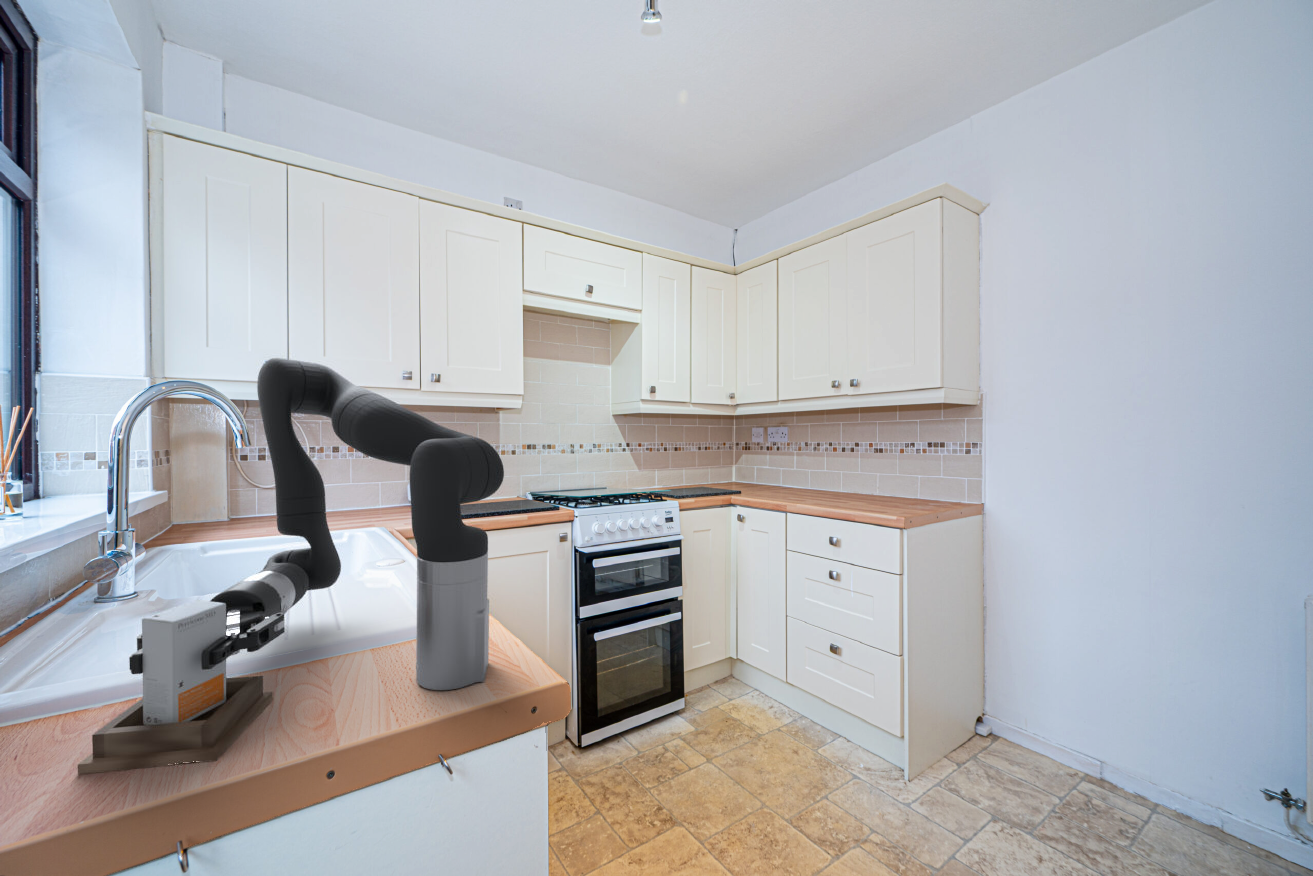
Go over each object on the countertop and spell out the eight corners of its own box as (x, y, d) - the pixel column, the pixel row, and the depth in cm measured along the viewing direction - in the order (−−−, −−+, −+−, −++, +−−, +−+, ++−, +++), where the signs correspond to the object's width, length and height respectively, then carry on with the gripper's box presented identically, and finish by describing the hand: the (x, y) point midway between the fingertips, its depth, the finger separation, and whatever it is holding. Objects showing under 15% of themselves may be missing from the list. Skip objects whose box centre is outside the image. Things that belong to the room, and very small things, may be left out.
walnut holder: (272, 699, 67) (272, 672, 67) (216, 760, 56) (216, 727, 56) (161, 708, 65) (160, 680, 65) (77, 774, 53) (76, 740, 53)
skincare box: (173, 732, 57) (170, 622, 56) (142, 726, 58) (138, 618, 57) (229, 701, 63) (227, 602, 62) (200, 696, 64) (197, 598, 63)
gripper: (191, 581, 72) (88, 633, 56) (310, 577, 75) (246, 625, 59) (193, 635, 72) (91, 703, 56) (310, 629, 76) (247, 691, 59)
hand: (171, 663), depth 57 cm, fingers closed on skincare box, 6 cm apart
